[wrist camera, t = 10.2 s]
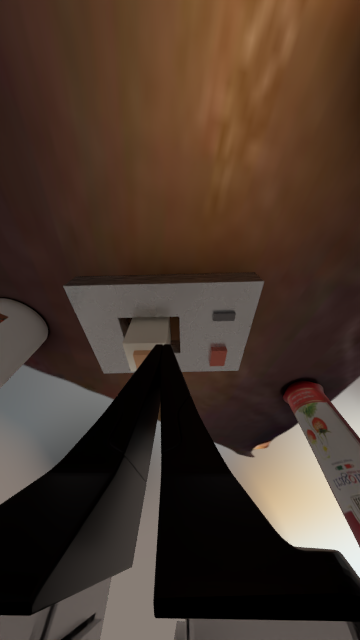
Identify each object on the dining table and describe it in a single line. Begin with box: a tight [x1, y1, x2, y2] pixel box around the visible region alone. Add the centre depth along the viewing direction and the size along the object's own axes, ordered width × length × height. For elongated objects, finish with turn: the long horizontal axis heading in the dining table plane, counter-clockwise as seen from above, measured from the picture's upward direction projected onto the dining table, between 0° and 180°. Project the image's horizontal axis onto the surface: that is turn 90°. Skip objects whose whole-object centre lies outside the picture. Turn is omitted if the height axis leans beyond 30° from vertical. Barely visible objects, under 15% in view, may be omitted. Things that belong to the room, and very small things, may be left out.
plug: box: [122, 317, 171, 371], centre depth 20 cm, size 4×4×7 cm
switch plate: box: [63, 272, 264, 373], centre depth 21 cm, size 20×14×3 cm
